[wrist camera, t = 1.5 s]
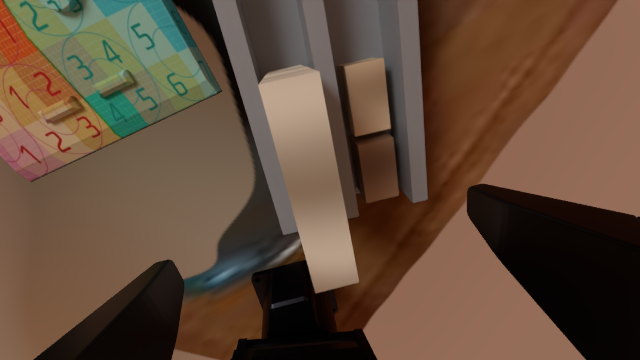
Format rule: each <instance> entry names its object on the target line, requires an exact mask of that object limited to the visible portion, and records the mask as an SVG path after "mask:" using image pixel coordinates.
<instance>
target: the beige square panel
mask: <svg viewBox="0 0 640 360" xmlns="http://www.w3.org/2000/svg"><path fill="white" fill-rule="evenodd" d="M258 87H259V90H260V94H261V97H262V101H263V105H264V108H265V112H266V116H267V119H268V123H269V127H270V130H271V134H272V137H273V141H274V145H275V148H276V152H277V156H278V159H279V163H280V166H281V170H282V174H283V177H284V181H285V185H286V188H287V192H288V195H289V199H290V203H291V206H292V210H293V214H294V217H295V221H296V224H297V228H298V232H299V235H300V239H301V243H302V246H303V250H304V253H305V257H306V261H307V264H308V268H309V272H310V275H311V279H312V283H313V286H314V290H315V293H319V292H323V291H327V290H331V289H335V288H339V287H343V286H347V285H351V284H355V283H359V279H358V274H357V268H356V263H355V258H354V252H353V247H352V242H351V236H350V231H349V226H348V220H347V215H346V210H345V205H344V199H343V194H342V189H341V183H340V178H339V173H338V167H337V162H336V157H335V151H334V146H333V141H332V136H331V130H330V125H329V120H328V114H327V109H326V104H325V98H324V93H323V88H322V82H321V77H320V72H319V71H317V70H314V69H311V68H309V67H306V66H303V65H296V66H292V67H287V68H283V69H278V70H274V71H269V72H267V74H266V75H265V76H264V78H263V79H262V81H261V82H260V83H259V85H258Z"/></svg>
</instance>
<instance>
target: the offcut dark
mask: <svg viewBox="0 0 640 360" xmlns="http://www.w3.org/2000/svg"><path fill="white" fill-rule="evenodd" d="M349 140H350V146H351V152H352V159H353V165H354V171H355V177H356V183H357V188H358V190H359V191H360V193H361V195H362V197H363V198H364V200H365V202H366V203H371V202H375V201H379V200H383V199H387V198H391V197H396V196H399V190H398V180H397V169H396V159H395V149H394V139H393V137H392V136H390V135H389V134H388V133H386V132H385V131H383V130H382V131H378V132H373V133H369V134H365V135H361V136H356V137H355V136H354V135H349Z"/></svg>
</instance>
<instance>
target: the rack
mask: <svg viewBox="0 0 640 360" xmlns="http://www.w3.org/2000/svg"><path fill="white" fill-rule="evenodd" d="M212 1H213V4H214V8H215V11H216V14H217V17H218V21H219V24H220V27H221V31H222V34H223V37H224V41H225V44H226V47H227V50H228V54H229V57H230V60H231V64H232V67H233V70H234V74H235V77H236V80H237V83H238V87H239V90H240V93H241V97H242V100H243V103H244V107H245V110H246V113H247V116H248V120H249V123H250V126H251V130H252V133H253V136H254V140H255V143H256V146H257V149H258V153H259V156H260V159H261V163H262V166H263V169H264V173H265V176H266V179H267V182H268V186H269V189H270V192H271V196H272V199H273V202H274V206H275V209H276V212H277V215H278V219H279V222H280V225H281V229H282V232H283V235H285V234H289V233H293V232H297V231H298V228H297V224H296V221H295V217H294V214H293V210H292V206H291V203H290V199H289V195H288V192H287V188H286V185H285V181H284V177H283V174H282V170H281V166H280V163H279V159H278V156H277V152H276V148H275V145H274V141H273V137H272V134H271V130H270V127H269V123H268V119H267V116H266V112H265V108H264V105H263V101H262V97H261V94H260V90H259V87H258V85H259V83H260V82H261V81H262V79H263V78H264V76H265V75H266V74H267V72H269V71H274V70H278V69H283V68H287V67H292V66H296V65H303V66H306V67H309V68H311V69H314V70H317V71H319V72H320V77H321V82H322V88H323V93H324V98H325V104H326V109H327V114H328V120H329V125H330V130H331V136H332V141H333V146H334V151H335V157H336V162H337V167H338V173H339V178H340V183H341V189H342V194H343V199H344V205H345V210H346V215H347V219H350V218H355V217H359V211H358V205H357V199H356V194H359V193H360V191H359V190H358V188H357V183H356V177H355V171H354V165H353V159H352V152H351V146H350V140H349V135H353V134H352V133H351V131H350V130H349V129H348V128H347V122H346V116H345V110H344V103H343V97H342V91H341V85H340V79H339V73H338V67H337V65H341V64H346V63H350V62H355V61H359V60H364V59H368V58H384V66H385V76H386V85H387V95H388V105H389V115H390V125H391V129H386V130H383V131H385V132H386V133H388V134H389V135H390V136H392V137H393V139H394V149H395V159H396V169H397V180H398V187H399V188H400V190H401V191H402V192H403V193H404V194H405V195H406V196H407V197H408V198H409V199H410V200H411V202H412V203H416V202H420V201H424V200H428V194H427V175H426V155H425V136H424V117H423V98H422V79H421V60H420V40H419V21H418V2H417V0H212Z"/></svg>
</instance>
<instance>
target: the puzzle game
mask: <svg viewBox="0 0 640 360" xmlns="http://www.w3.org/2000/svg"><path fill="white" fill-rule="evenodd" d="M220 92H222V90H221V88H220V86H219V85H218V83H217V81H216V79H215V77H214V76H213V74H212V72H211V70H210V68H209V67H208V65H207V63H206V61H205V60H204V58H203V56H202V54H201V52H200V51H199V49H198V47H197V45H196V43H195V41H194V40H193V38H192V36H191V34H190V32H189V31H188V29H187V27H186V25H185V23H184V22H183V20H182V18H181V16H180V14H179V13H178V11H177V9H176V7H175V5H174V4H173V2H172V0H0V155H1V156H2V157H3V158H4V160H5V161H6V162H7V163H8V164H9V165H10V166H11V167H12V168H13V169H14V170H15V171H16V172H17V173H19V174H20V175H22V176H23V177H25V178H26V179H28V180H29V181H31V182H33V181H35V180H37V179H39V178H41V177H43V176H45V175H47V174H49V173H51V172H54V171H56V170H58V169H60V168H62V167H64V166H66V165H68V164H71V163H73V162H75V161H77V160H79V159H81V158H83V157H85V156H87V155H90V154H91V153H94V152H96V151H98V150H100V149H102V148H104V147H106V146H108V145H110V144H113V143H115V142H117V141H119V140H121V139H123V138H125V137H127V136H130V135H132V134H134V133H136V132H138V131H140V130H142V129H144V128H147V127H148V126H151V125H153V124H155V123H157V122H159V121H161V120H163V119H166V118H168V117H170V116H172V115H174V114H176V113H178V112H180V111H182V110H185V109H187V108H189V107H191V106H193V105H195V104H197V103H199V102H201V101H204V100H206V99H208V98H210V97H212V96H214V95H216V94H218V93H220Z"/></svg>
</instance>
